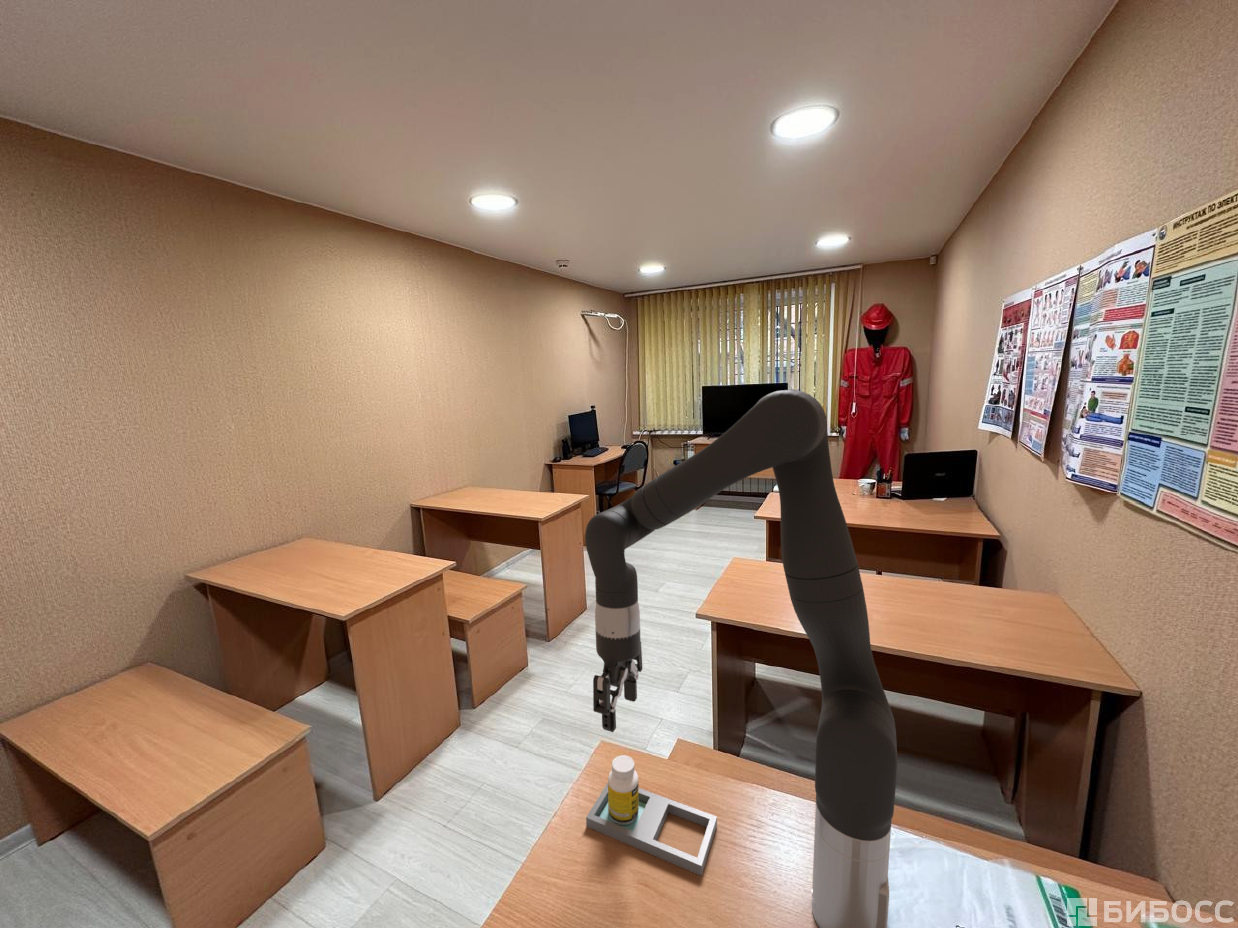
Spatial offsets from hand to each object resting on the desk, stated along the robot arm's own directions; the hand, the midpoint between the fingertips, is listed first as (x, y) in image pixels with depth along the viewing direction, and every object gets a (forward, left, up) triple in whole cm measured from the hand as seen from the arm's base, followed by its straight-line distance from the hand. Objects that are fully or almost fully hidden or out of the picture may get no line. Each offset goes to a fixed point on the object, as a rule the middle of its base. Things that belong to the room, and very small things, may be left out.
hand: (620, 713), depth 81 cm
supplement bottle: (0, 0, -20) cm, 20 cm away
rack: (-5, 0, -20) cm, 20 cm away
